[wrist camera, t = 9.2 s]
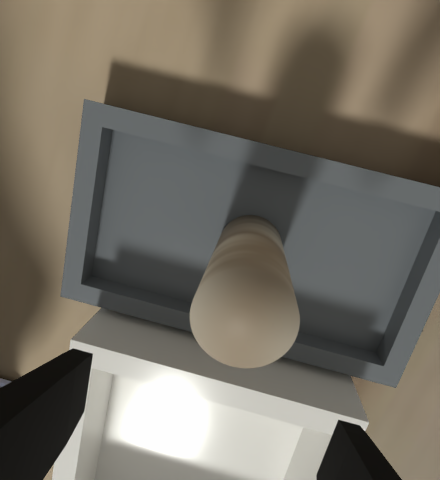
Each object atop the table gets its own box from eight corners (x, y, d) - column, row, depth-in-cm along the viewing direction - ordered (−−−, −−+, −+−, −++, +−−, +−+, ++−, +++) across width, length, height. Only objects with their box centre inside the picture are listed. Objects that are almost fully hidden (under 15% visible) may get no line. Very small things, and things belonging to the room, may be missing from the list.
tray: (79, 282, 20) (60, 296, 18) (103, 104, 18) (84, 99, 16) (382, 364, 20) (396, 388, 18) (457, 192, 17) (482, 197, 15)
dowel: (212, 266, 18) (179, 352, 11) (227, 207, 17) (202, 255, 10) (271, 281, 18) (281, 380, 10) (289, 223, 17) (314, 285, 10)
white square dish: (81, 476, 24) (42, 548, 20) (110, 298, 20) (70, 339, 16) (276, 534, 24) (280, 621, 19) (344, 362, 20) (369, 422, 15)
